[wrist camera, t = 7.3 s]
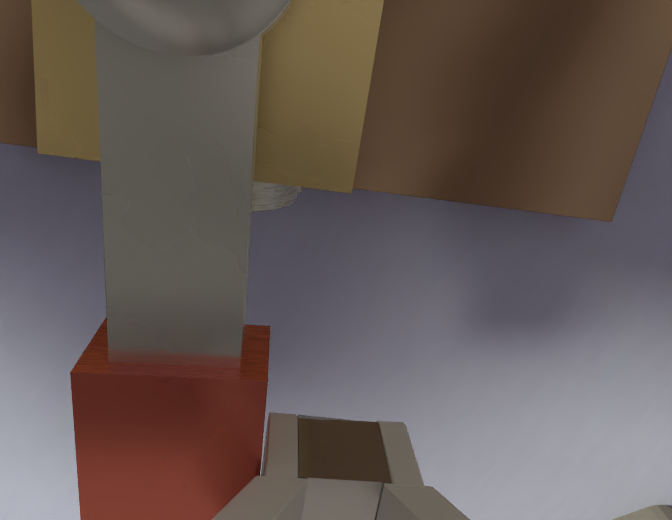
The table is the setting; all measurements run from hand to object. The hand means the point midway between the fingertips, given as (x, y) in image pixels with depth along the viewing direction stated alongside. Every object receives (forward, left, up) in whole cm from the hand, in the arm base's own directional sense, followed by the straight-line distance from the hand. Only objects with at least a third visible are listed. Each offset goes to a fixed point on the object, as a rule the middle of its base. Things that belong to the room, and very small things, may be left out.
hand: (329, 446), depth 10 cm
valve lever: (-3, +3, 0) cm, 4 cm away
